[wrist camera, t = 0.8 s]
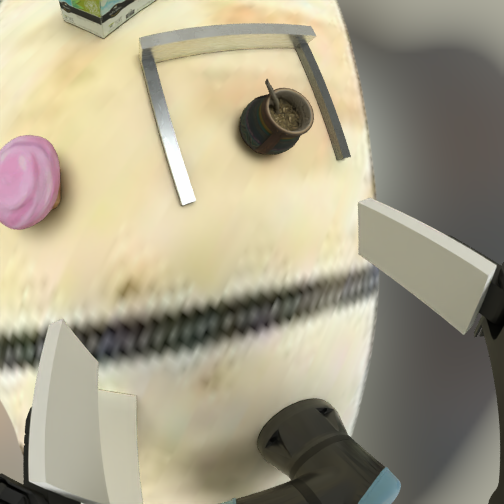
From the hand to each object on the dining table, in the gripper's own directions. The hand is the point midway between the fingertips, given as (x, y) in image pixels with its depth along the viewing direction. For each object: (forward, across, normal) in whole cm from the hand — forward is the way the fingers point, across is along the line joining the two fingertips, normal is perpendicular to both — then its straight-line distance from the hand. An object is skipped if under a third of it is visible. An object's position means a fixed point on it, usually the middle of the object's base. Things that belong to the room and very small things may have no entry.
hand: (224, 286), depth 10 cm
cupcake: (+23, +15, -5) cm, 28 cm away
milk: (+13, +19, +22) cm, 32 cm away
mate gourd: (+24, -12, -2) cm, 27 cm away
